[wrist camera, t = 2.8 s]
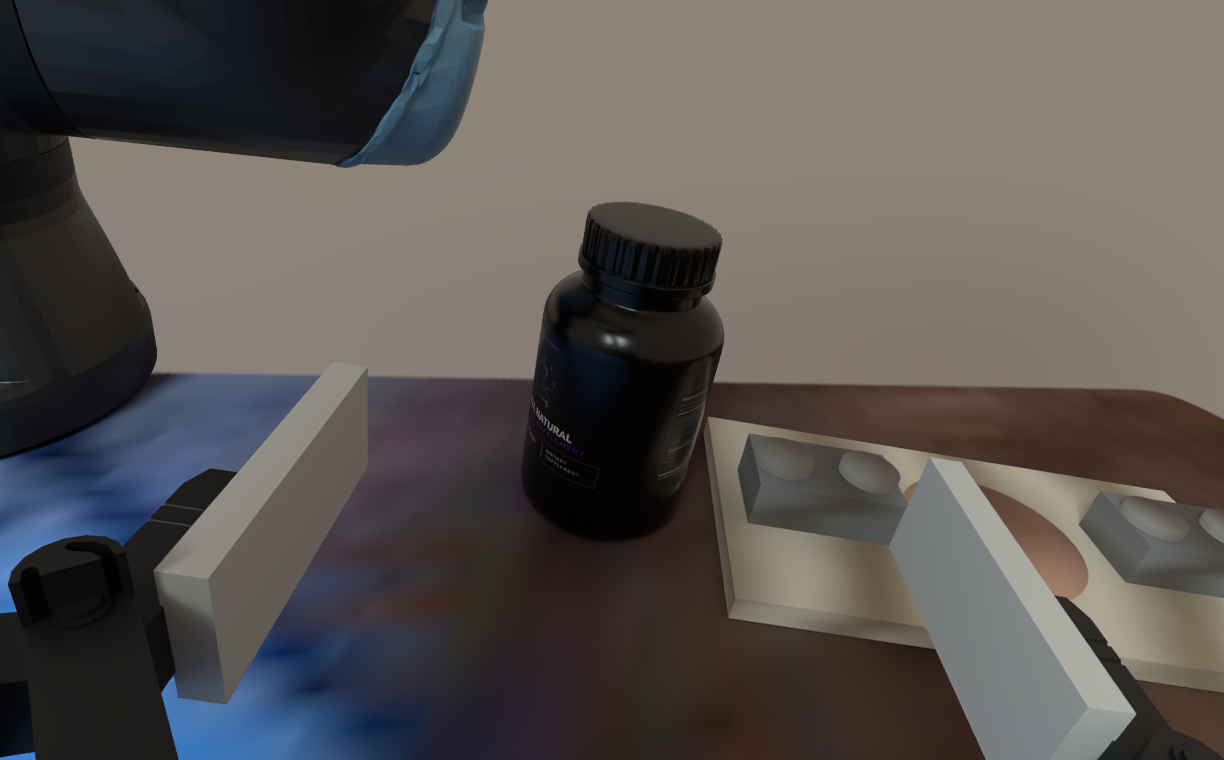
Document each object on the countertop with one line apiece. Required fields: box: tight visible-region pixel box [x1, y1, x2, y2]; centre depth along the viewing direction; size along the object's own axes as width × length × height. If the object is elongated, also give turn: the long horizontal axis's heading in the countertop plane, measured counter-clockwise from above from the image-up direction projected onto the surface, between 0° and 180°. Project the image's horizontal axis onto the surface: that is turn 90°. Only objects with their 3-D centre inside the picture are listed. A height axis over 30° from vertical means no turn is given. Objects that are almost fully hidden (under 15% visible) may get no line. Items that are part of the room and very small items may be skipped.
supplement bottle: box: [521, 202, 724, 541], centre depth 27 cm, size 7×7×12 cm
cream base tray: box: [703, 417, 1224, 693], centre depth 30 cm, size 24×12×3 cm, turn 88°
